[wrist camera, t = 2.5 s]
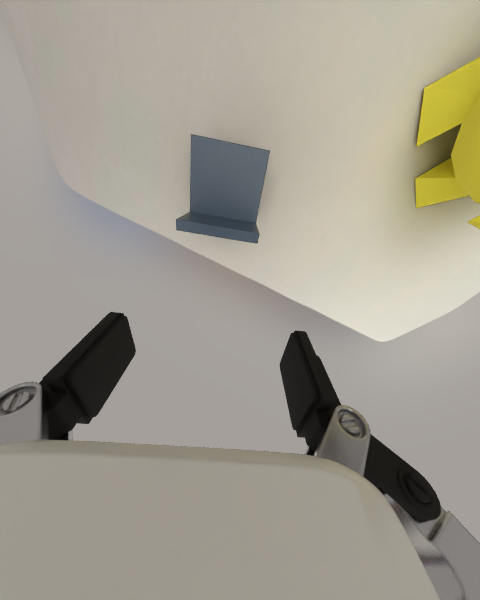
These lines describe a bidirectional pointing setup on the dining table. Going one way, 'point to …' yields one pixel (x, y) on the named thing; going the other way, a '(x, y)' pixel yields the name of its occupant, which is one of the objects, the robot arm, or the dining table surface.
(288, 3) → the dining table surface
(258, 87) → the dining table surface
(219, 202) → the chair
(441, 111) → the piggy bank
